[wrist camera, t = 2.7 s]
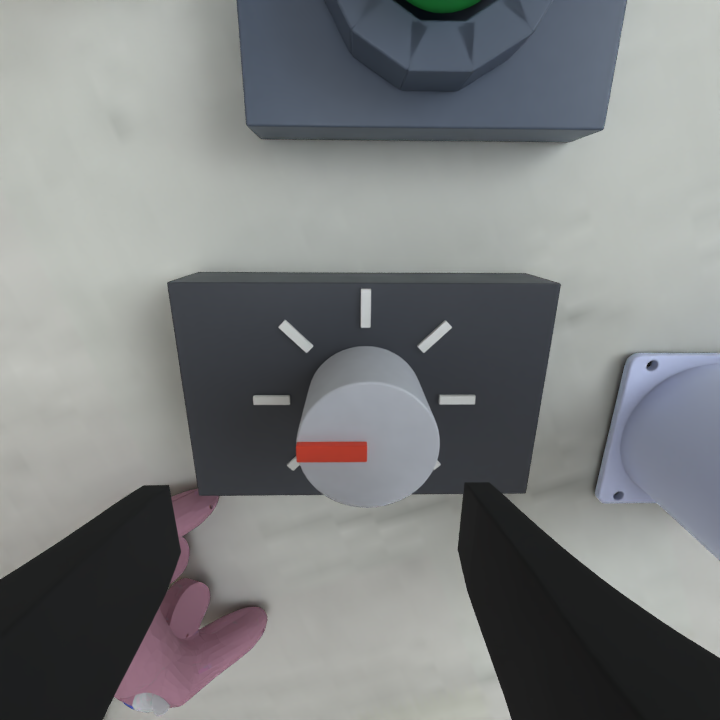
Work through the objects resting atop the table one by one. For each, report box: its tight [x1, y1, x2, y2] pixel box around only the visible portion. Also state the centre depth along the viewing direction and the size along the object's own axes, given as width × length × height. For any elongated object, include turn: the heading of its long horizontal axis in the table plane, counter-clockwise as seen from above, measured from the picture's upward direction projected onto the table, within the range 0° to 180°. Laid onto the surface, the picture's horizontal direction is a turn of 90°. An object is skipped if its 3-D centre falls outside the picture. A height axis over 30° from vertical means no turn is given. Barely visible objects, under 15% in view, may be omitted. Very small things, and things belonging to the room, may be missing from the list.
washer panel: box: [167, 272, 561, 496], centre depth 17 cm, size 14×9×3 cm, turn 90°
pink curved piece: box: [114, 488, 267, 716], centre depth 19 cm, size 10×5×7 cm, turn 12°
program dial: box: [296, 346, 440, 508], centre depth 14 cm, size 4×4×4 cm
